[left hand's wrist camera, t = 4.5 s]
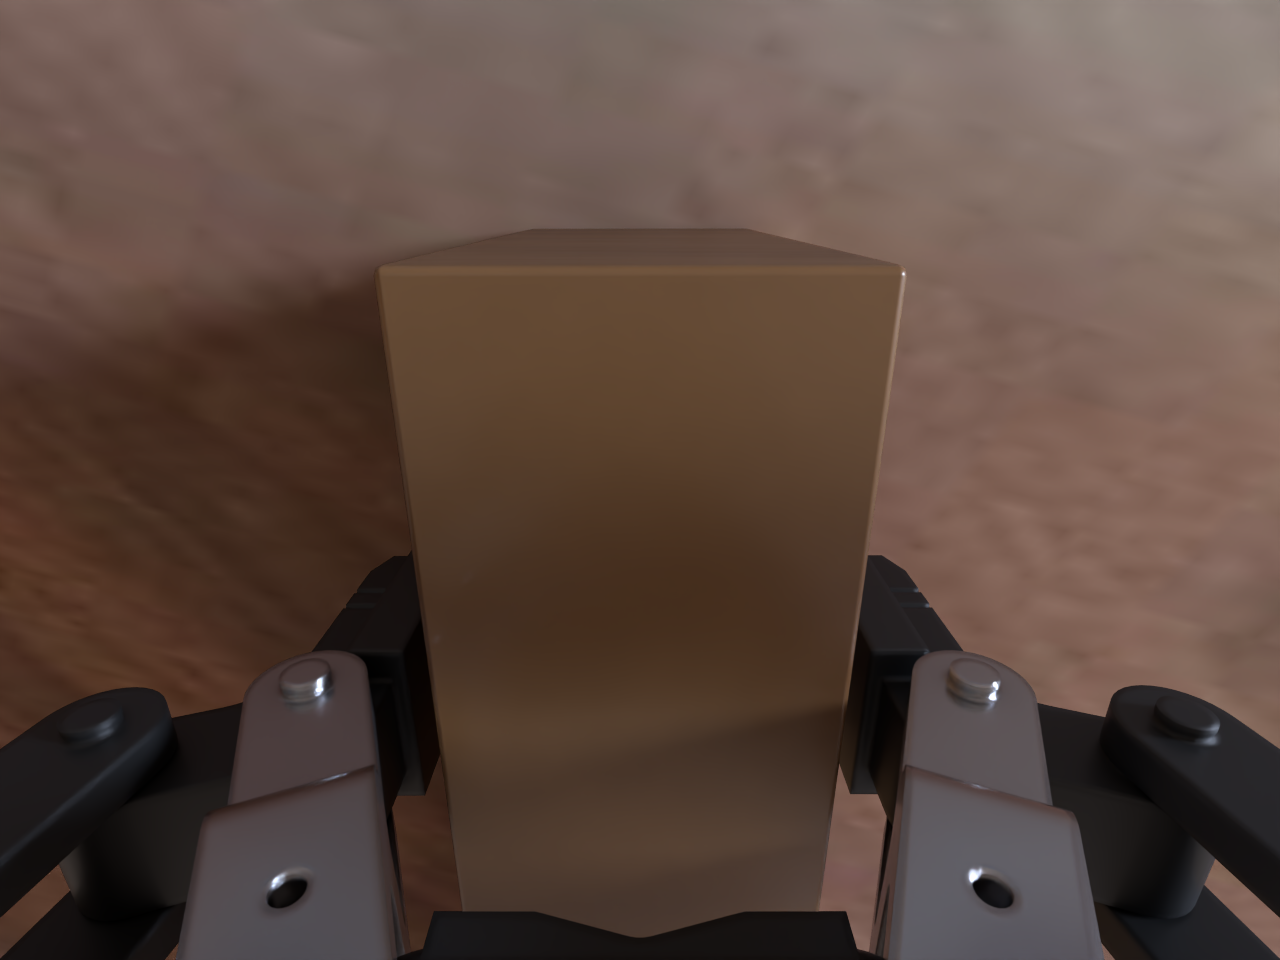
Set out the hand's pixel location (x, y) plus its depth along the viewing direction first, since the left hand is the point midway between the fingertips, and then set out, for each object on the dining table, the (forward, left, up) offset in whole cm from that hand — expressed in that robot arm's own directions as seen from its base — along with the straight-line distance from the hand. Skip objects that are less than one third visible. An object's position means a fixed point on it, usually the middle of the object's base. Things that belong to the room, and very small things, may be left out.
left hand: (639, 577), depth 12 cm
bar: (+11, -20, -4) cm, 23 cm away
